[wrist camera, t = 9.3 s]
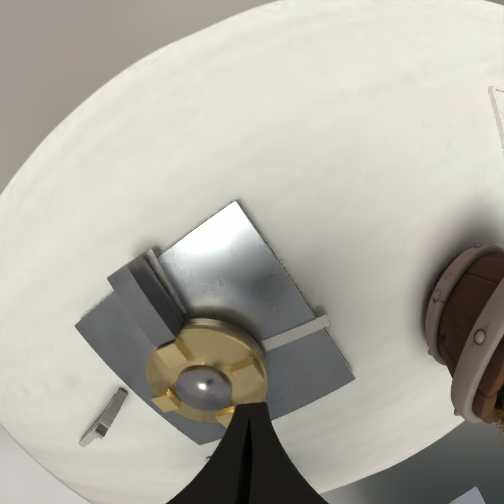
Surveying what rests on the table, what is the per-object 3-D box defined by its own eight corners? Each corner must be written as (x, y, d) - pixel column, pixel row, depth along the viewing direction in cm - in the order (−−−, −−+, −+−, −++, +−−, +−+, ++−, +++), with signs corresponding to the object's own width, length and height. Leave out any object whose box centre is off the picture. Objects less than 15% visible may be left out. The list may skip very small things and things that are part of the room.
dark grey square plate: (359, 366, 22) (364, 374, 20) (200, 437, 25) (199, 445, 23) (238, 180, 18) (237, 180, 17) (74, 311, 21) (67, 317, 19)
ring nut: (285, 383, 20) (289, 409, 17) (196, 414, 21) (190, 438, 18) (184, 227, 17) (170, 237, 14) (93, 286, 18) (72, 302, 15)
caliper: (121, 384, 23) (97, 426, 17) (130, 390, 23) (107, 433, 17) (80, 439, 27) (65, 466, 21) (86, 443, 27) (71, 470, 21)
